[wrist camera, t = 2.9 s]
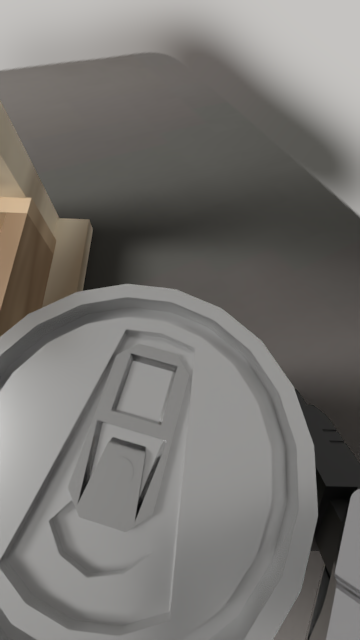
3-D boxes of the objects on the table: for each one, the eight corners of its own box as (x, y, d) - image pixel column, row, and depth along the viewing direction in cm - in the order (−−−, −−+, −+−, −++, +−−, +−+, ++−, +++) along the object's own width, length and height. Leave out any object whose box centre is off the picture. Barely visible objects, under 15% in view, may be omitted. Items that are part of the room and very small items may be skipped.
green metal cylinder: (124, 376, 16) (23, 236, 5) (220, 403, 16) (348, 320, 4) (87, 484, 14) (-233, 670, 3) (196, 518, 14) (317, 883, 2)
